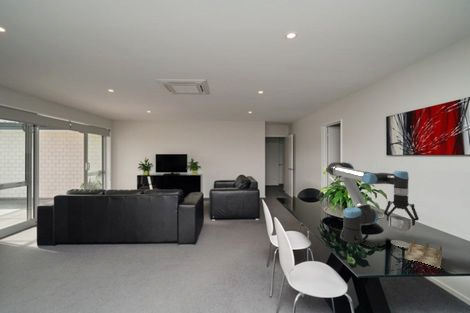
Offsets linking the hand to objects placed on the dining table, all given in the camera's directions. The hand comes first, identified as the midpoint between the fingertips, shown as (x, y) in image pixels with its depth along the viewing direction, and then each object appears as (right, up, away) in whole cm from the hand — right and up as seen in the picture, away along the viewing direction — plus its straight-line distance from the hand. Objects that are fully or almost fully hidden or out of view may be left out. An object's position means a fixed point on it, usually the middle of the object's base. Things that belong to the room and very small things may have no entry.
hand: (400, 228), depth 140 cm
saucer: (+11, -17, +14) cm, 25 cm away
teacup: (0, -2, 0) cm, 2 cm away
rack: (+9, -17, -6) cm, 20 cm away
